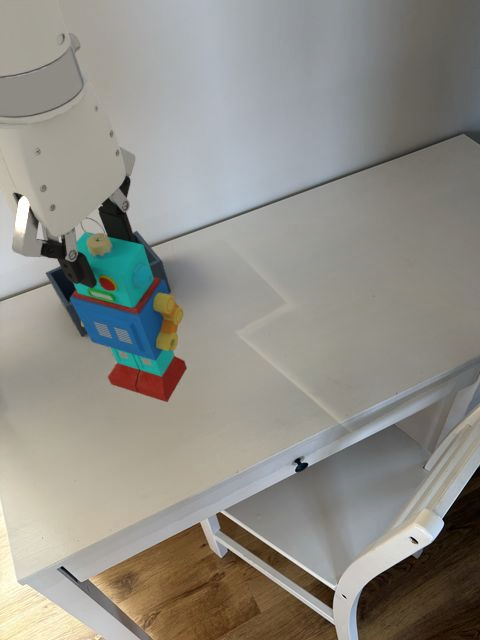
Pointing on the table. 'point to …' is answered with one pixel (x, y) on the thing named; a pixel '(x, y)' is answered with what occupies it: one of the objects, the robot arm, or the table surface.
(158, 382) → the toy robot
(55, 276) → the tote
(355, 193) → the table surface
